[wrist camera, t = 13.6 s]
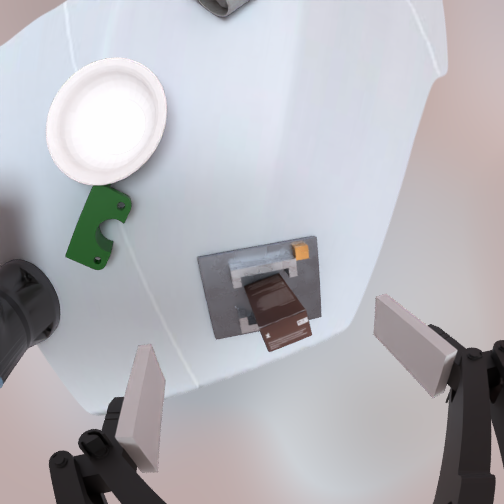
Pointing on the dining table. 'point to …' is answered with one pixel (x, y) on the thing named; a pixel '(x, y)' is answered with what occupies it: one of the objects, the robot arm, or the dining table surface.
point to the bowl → (106, 121)
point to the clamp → (97, 226)
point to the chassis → (255, 269)
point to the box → (277, 312)
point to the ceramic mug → (222, 6)
